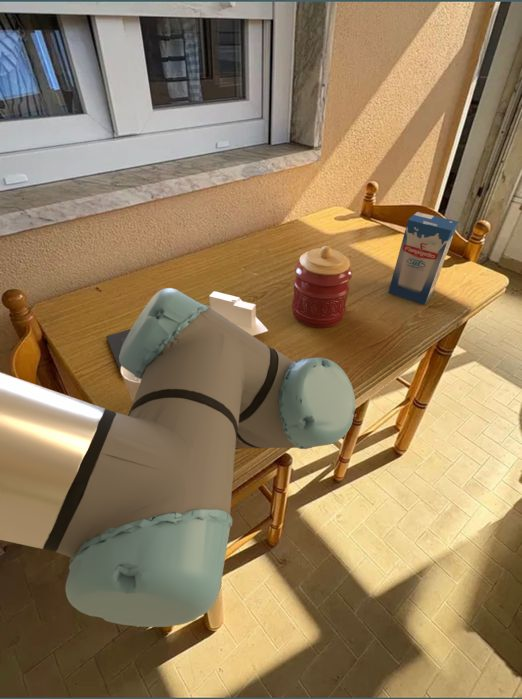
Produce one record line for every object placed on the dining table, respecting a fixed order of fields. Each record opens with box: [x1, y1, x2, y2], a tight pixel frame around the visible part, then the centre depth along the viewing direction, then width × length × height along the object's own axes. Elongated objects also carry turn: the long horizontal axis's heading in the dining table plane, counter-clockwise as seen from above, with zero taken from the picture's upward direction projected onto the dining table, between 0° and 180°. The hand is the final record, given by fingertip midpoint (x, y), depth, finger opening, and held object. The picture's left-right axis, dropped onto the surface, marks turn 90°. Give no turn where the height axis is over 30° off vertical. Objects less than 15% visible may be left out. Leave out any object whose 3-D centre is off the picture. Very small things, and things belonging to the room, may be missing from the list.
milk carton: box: [387, 211, 459, 306], centre depth 95 cm, size 10×6×20 cm, turn 54°
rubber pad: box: [105, 328, 131, 374], centre depth 83 cm, size 14×14×1 cm
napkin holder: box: [208, 290, 269, 337], centre depth 90 cm, size 15×11×6 cm
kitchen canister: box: [291, 245, 353, 328], centre depth 88 cm, size 13×13×18 cm
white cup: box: [120, 365, 142, 402], centre depth 68 cm, size 8×8×10 cm
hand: (167, 427), depth 62 cm, fingers closed on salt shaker, 3 cm apart
